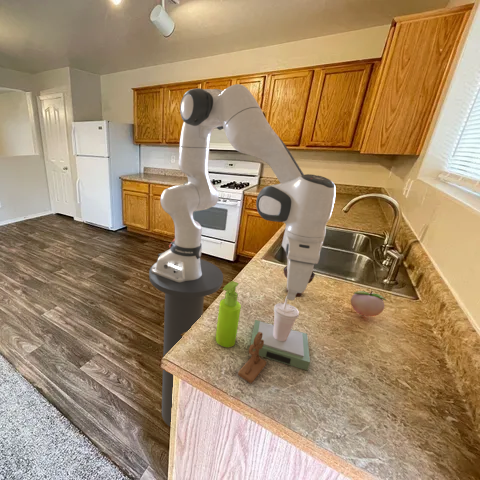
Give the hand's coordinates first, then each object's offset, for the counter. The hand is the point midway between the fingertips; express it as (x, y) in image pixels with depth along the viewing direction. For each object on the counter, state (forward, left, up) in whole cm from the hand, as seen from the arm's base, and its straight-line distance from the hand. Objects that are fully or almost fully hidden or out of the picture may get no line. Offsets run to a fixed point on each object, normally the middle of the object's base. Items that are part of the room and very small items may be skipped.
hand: (290, 289), depth 71 cm
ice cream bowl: (+5, +35, -20) cm, 40 cm away
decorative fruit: (+27, +29, -20) cm, 44 cm away
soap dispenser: (-15, -5, -20) cm, 25 cm away
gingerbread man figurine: (-6, -12, -20) cm, 24 cm away
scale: (0, 0, -20) cm, 20 cm away
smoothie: (0, 0, -16) cm, 16 cm away
